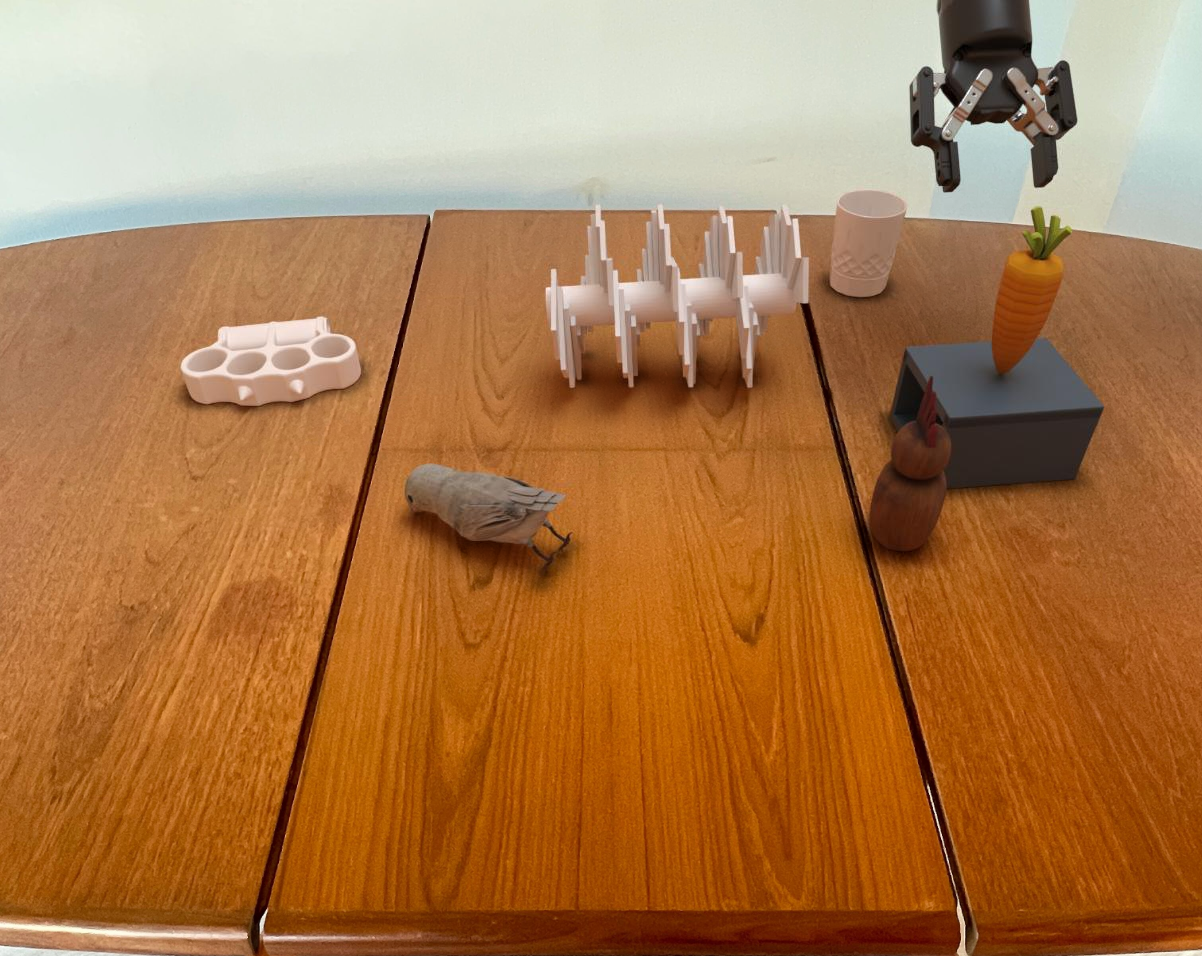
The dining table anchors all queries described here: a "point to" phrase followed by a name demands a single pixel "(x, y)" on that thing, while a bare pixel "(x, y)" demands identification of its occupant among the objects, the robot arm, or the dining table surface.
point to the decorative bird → (484, 505)
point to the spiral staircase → (679, 293)
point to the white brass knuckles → (271, 363)
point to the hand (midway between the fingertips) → (998, 186)
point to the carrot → (1027, 292)
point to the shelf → (1001, 412)
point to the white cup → (865, 241)
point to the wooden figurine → (912, 481)
